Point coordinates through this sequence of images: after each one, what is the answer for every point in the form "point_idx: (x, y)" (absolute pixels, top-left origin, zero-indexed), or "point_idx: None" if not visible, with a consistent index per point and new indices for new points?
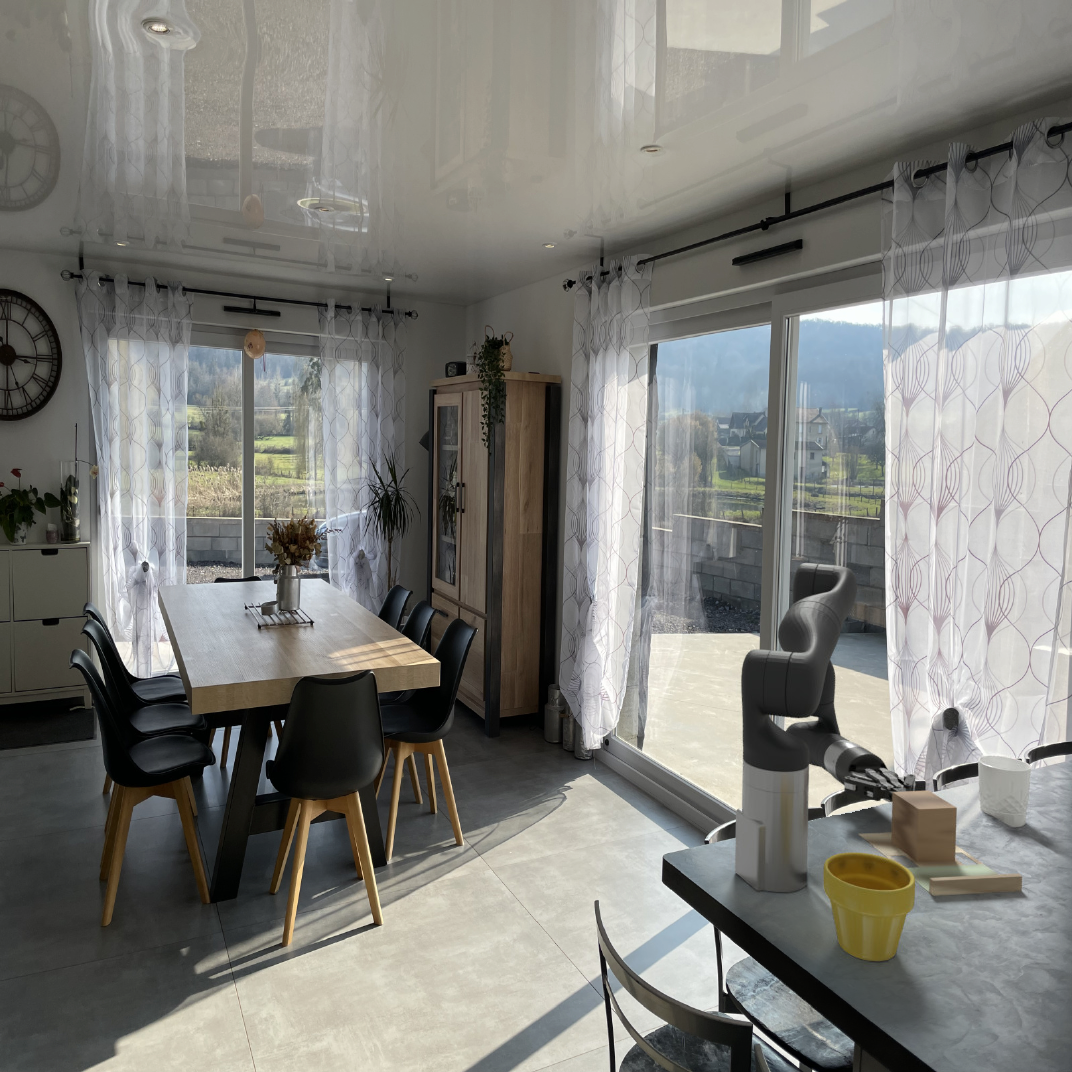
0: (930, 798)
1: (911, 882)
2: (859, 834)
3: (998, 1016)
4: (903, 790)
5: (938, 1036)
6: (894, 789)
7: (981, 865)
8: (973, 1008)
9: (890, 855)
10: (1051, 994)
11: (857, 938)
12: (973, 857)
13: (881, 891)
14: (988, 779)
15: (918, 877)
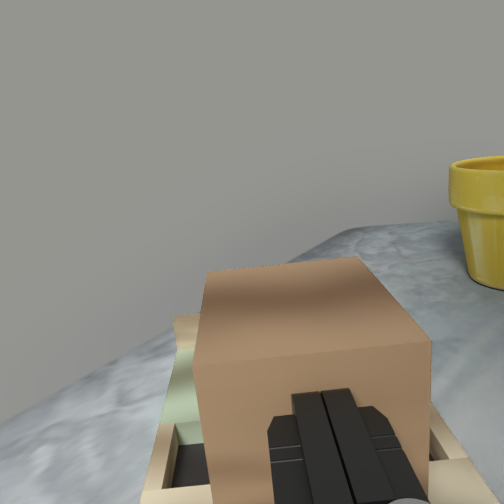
0: (254, 307)
1: (456, 162)
2: None
3: (377, 241)
4: (316, 461)
5: (440, 229)
6: (385, 475)
7: (171, 418)
8: (397, 243)
9: (447, 461)
10: (307, 257)
11: None
12: (152, 457)
13: (500, 156)
14: None
15: None
